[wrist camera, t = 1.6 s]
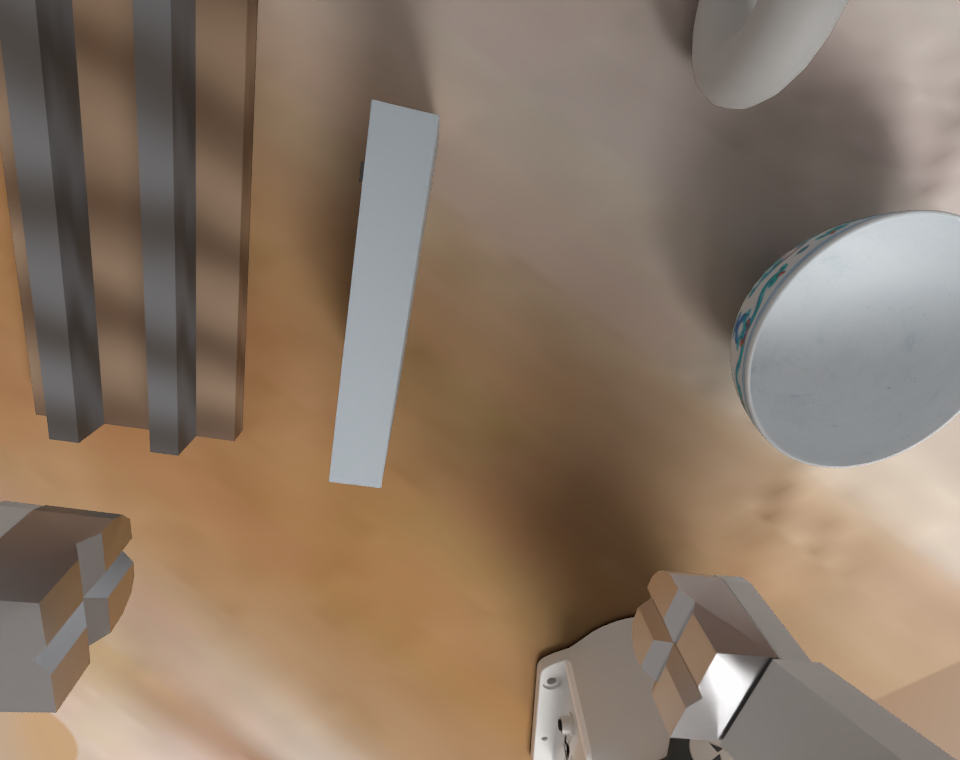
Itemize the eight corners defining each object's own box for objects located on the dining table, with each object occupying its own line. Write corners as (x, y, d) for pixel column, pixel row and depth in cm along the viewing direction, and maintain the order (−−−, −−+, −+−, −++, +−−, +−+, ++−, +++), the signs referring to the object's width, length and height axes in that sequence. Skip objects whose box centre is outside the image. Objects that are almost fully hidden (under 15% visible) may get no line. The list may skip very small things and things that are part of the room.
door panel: (398, 387, 35) (380, 488, 24) (355, 381, 34) (315, 479, 23) (438, 137, 29) (439, 115, 18) (386, 125, 29) (354, 94, 17)
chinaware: (663, 254, 33) (726, 276, 25) (891, 165, 31) (1023, 162, 24) (705, 440, 38) (766, 501, 31) (899, 370, 37) (1009, 416, 30)
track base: (242, 430, 35) (219, 460, 31) (52, 404, 33) (4, 433, 29) (258, -15, 26) (228, -47, 22) (-5, -84, 24) (-86, -132, 20)
